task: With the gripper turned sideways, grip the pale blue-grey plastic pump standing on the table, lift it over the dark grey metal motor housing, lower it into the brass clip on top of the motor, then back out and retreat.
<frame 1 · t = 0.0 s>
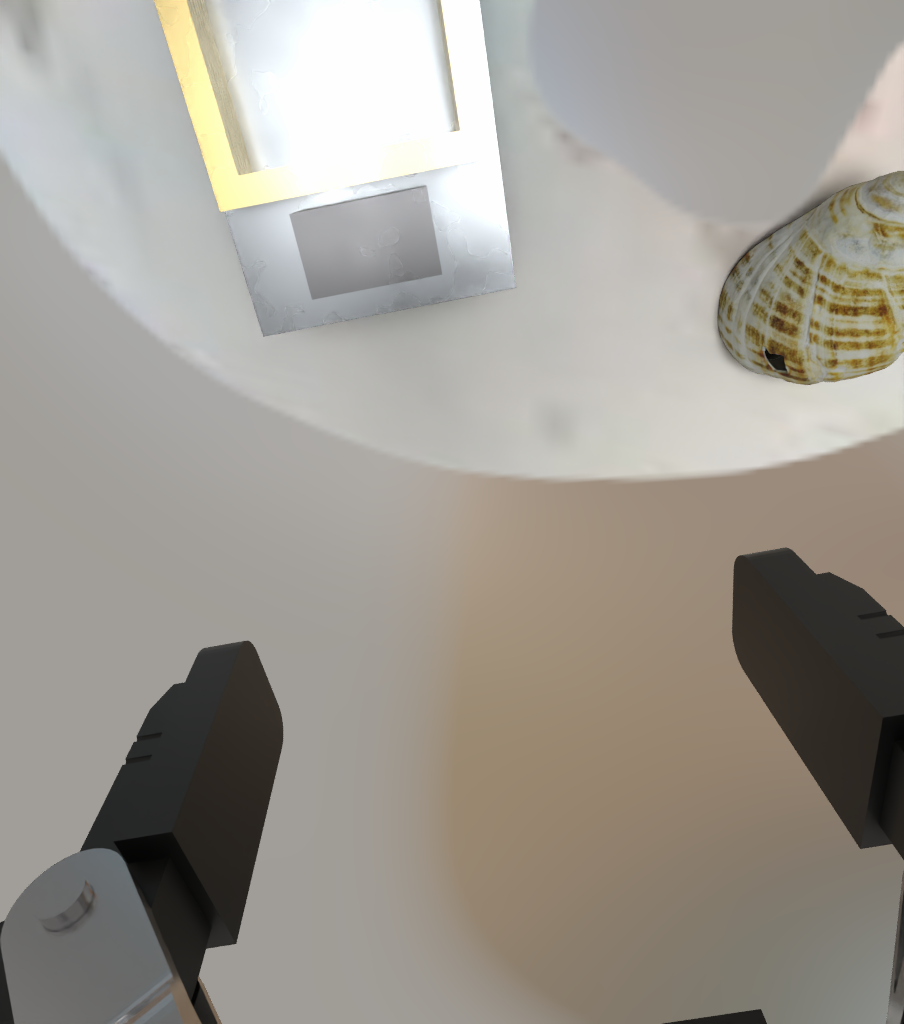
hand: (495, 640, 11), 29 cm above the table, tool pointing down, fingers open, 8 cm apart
motor: (359, 113, 32), on the table
seashell: (808, 275, 37), on the table
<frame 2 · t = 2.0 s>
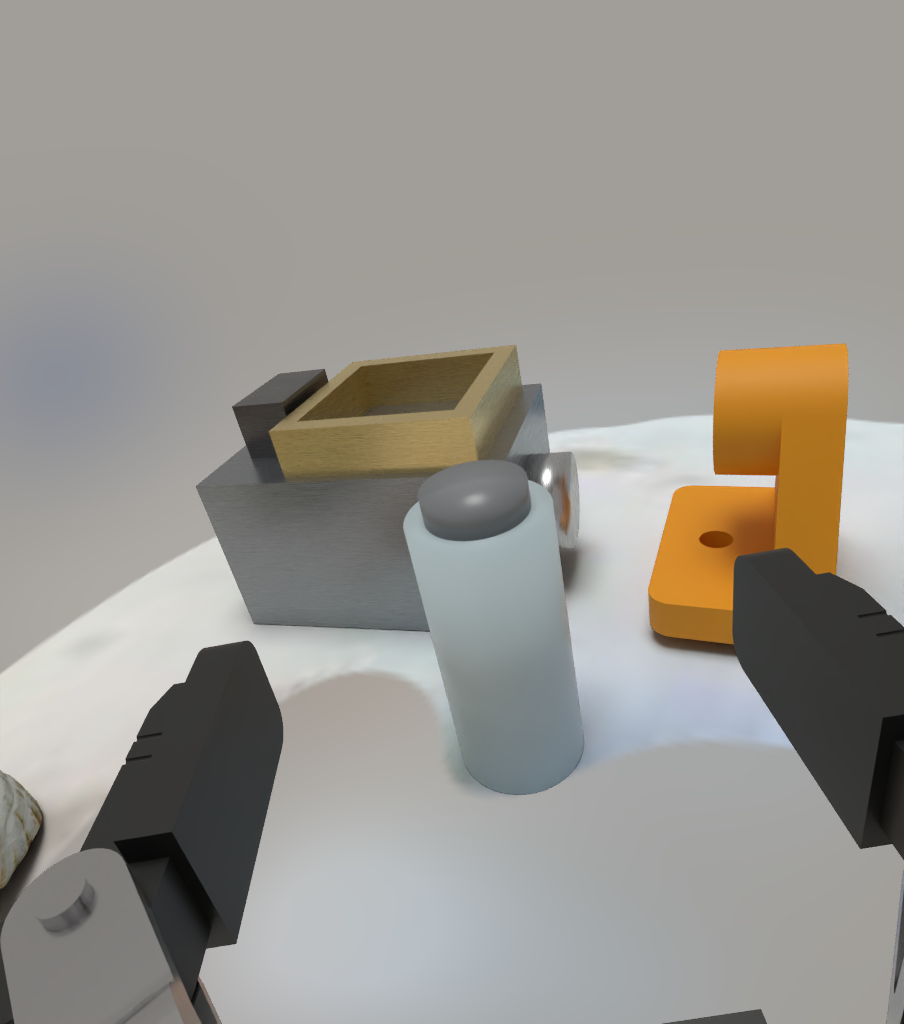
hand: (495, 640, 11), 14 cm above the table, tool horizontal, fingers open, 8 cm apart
motor: (413, 569, 40), on the table
bracket: (738, 588, 33), on the table
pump: (521, 741, 27), on the table
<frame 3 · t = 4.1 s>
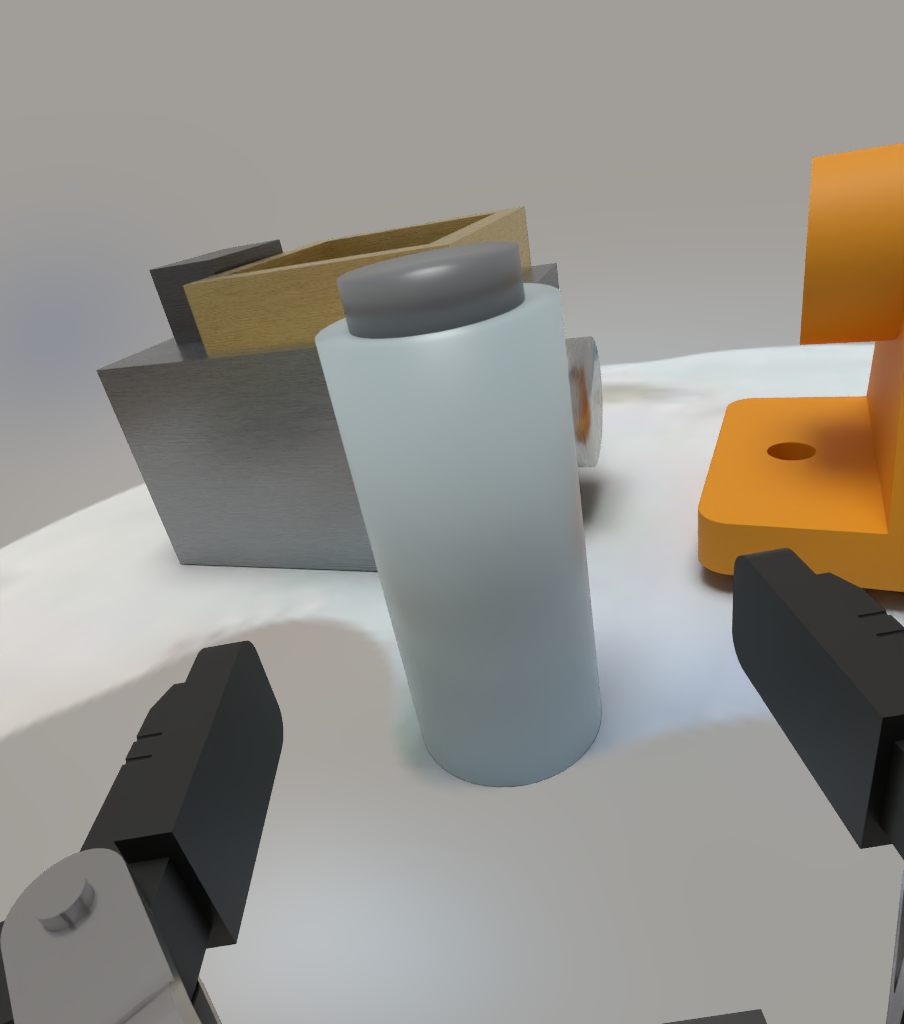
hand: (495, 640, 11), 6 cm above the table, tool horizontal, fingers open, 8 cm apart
motor: (387, 504, 31), on the table
bracket: (819, 523, 24), on the table
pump: (509, 711, 18), on the table
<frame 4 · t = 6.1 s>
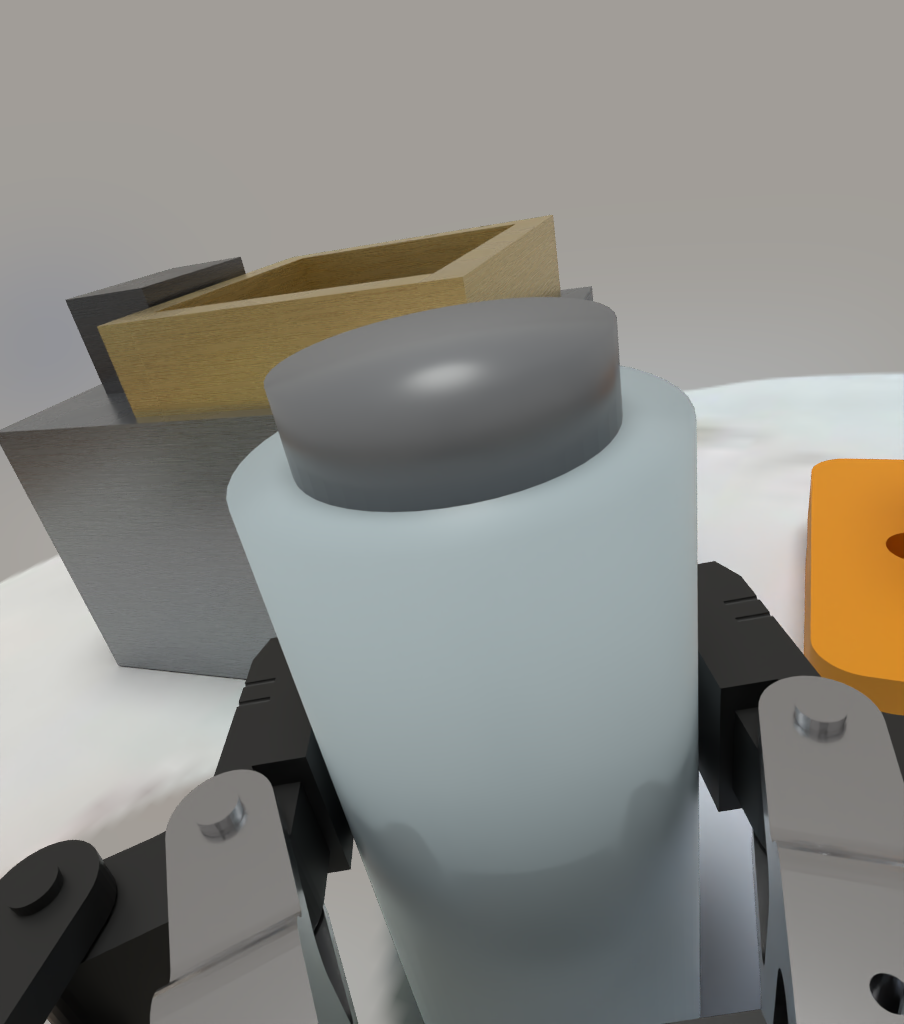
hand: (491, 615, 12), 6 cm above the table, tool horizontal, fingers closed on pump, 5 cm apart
motor: (379, 584, 25), on the table
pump: (557, 977, 12), on the table, touching gripper
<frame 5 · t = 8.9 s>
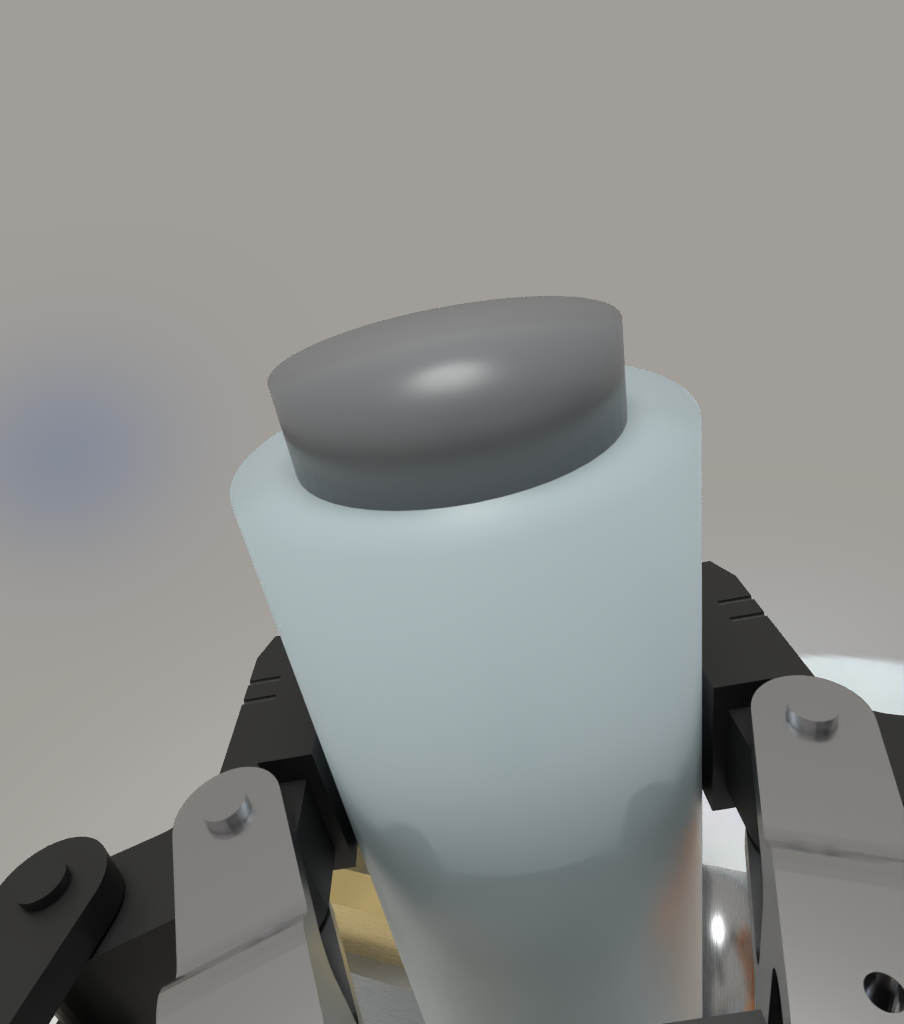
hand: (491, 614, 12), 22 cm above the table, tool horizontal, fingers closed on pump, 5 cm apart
motor: (482, 957, 27), on the table
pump: (558, 979, 12), point 15 cm above the table, touching gripper
when the fingers open (17 cm above the table, at t = 11.5 s): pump drops 1 cm, resting on motor.
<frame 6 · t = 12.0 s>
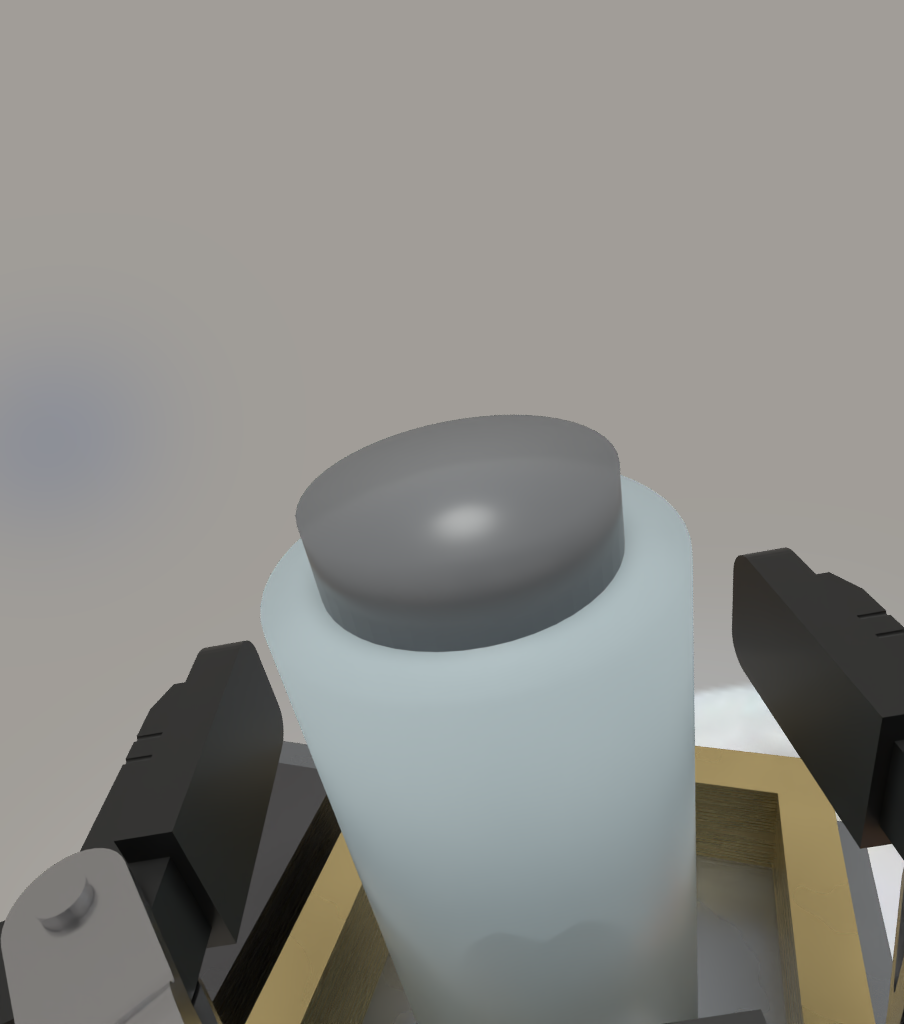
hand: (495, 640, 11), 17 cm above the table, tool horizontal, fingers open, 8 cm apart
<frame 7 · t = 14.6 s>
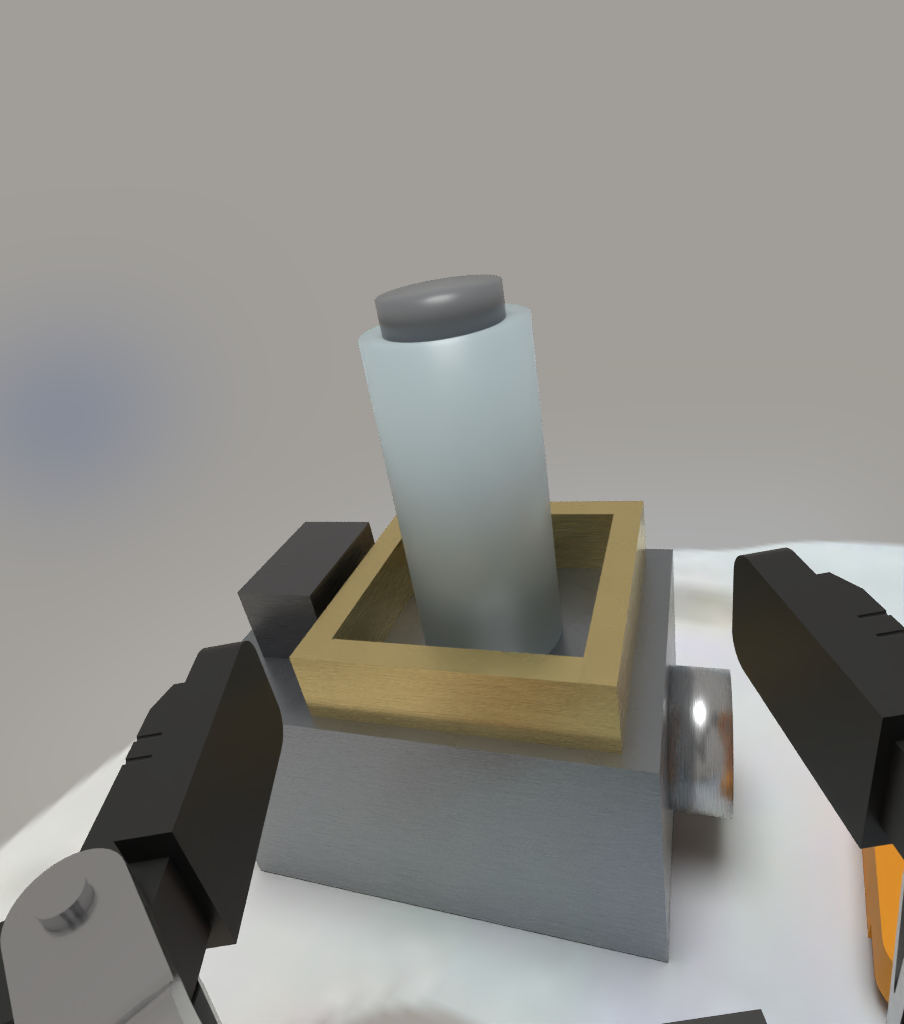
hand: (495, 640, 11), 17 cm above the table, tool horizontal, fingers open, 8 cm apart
motor: (480, 787, 29), on the table
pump: (492, 628, 24), point 9 cm above the table, touching motor
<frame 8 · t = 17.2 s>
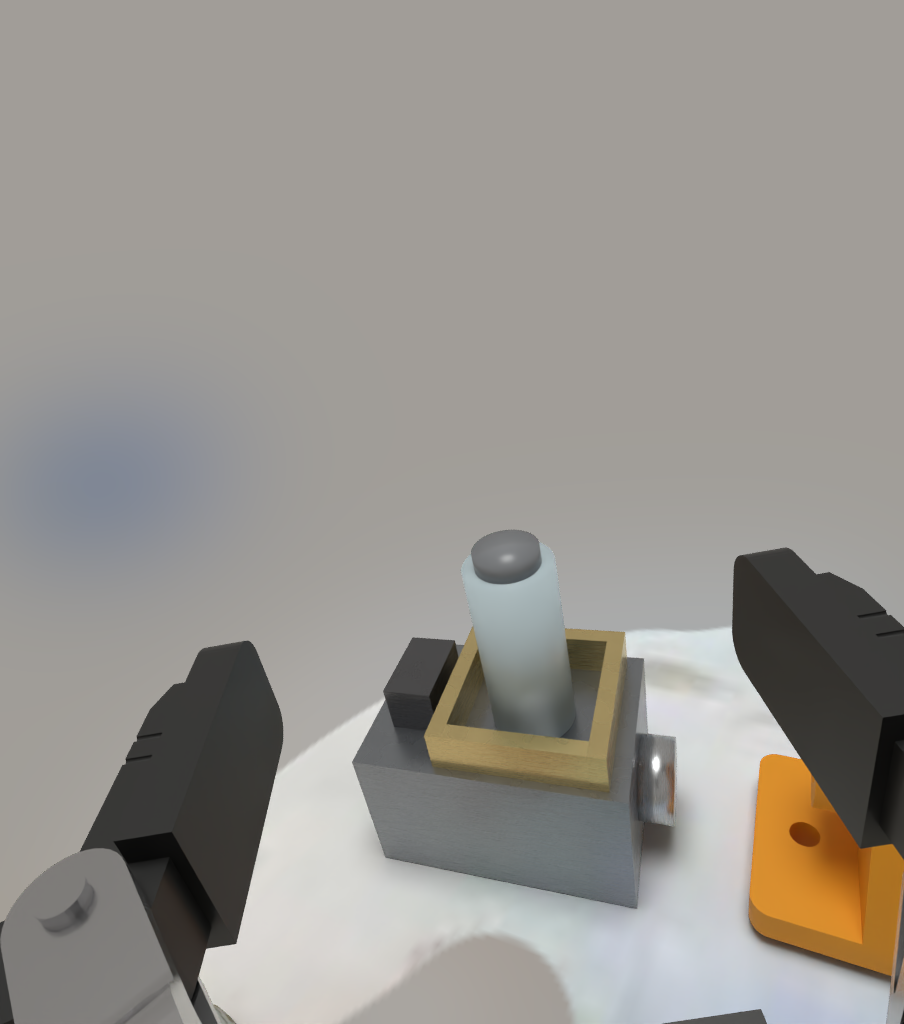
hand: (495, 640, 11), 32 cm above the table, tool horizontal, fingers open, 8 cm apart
motor: (522, 804, 45), on the table
bracket: (822, 871, 38), on the table
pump: (534, 712, 40), point 9 cm above the table, touching motor
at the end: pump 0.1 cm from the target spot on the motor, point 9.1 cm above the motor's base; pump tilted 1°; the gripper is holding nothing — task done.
